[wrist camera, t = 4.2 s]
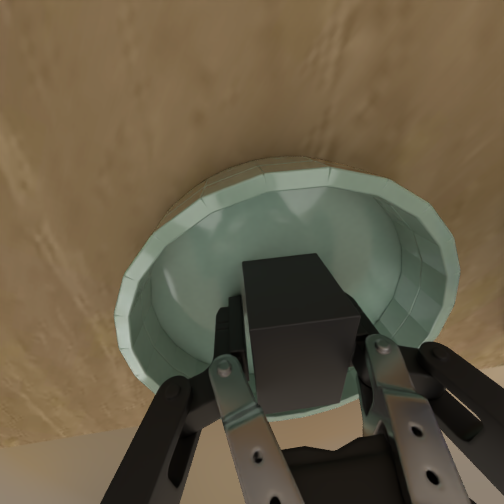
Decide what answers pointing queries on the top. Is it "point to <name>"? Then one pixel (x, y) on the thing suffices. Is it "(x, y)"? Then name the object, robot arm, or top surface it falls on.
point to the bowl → (281, 245)
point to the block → (298, 332)
